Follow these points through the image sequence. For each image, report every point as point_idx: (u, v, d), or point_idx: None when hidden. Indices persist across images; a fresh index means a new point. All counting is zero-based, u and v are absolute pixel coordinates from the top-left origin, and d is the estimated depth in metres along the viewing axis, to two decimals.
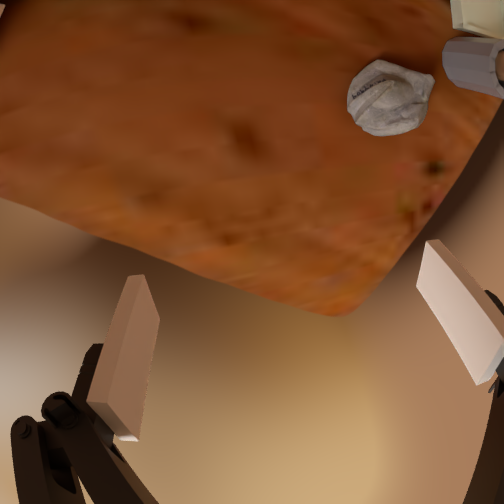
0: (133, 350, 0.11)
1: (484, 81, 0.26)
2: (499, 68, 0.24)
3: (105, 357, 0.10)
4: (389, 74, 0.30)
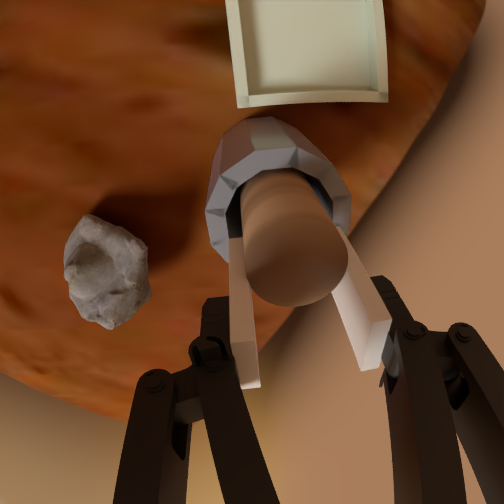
0: None
1: None
2: None
3: (236, 303, 0.12)
4: (90, 242, 0.24)
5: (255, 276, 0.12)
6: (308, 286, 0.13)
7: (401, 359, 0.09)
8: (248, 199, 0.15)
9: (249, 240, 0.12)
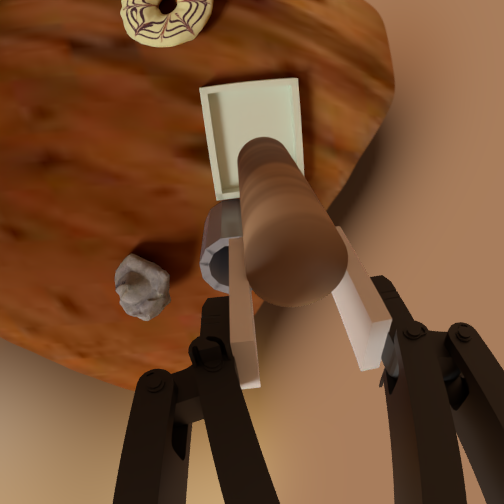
0: None
1: None
2: None
3: (236, 303, 0.12)
4: (134, 271, 0.43)
5: (255, 276, 0.13)
6: (308, 287, 0.13)
7: (401, 359, 0.09)
8: (248, 200, 0.15)
9: (249, 240, 0.12)
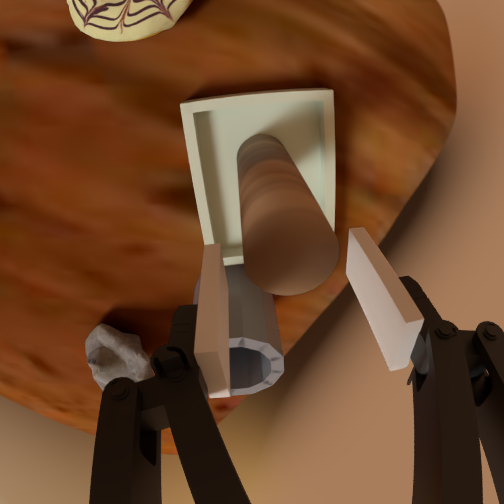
0: (222, 309, 0.13)
1: None
2: None
3: (204, 312, 0.11)
4: (106, 347, 0.32)
5: (252, 266, 0.13)
6: (302, 276, 0.14)
7: (431, 356, 0.09)
8: (246, 195, 0.16)
9: (247, 233, 0.13)
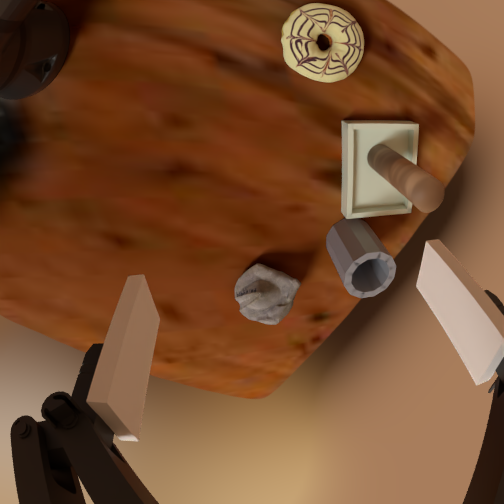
0: (133, 350, 0.11)
1: None
2: (394, 184, 0.35)
3: (105, 357, 0.10)
4: (263, 279, 0.49)
5: (417, 198, 0.31)
6: (431, 204, 0.31)
7: None
8: (402, 172, 0.34)
9: (414, 185, 0.31)
